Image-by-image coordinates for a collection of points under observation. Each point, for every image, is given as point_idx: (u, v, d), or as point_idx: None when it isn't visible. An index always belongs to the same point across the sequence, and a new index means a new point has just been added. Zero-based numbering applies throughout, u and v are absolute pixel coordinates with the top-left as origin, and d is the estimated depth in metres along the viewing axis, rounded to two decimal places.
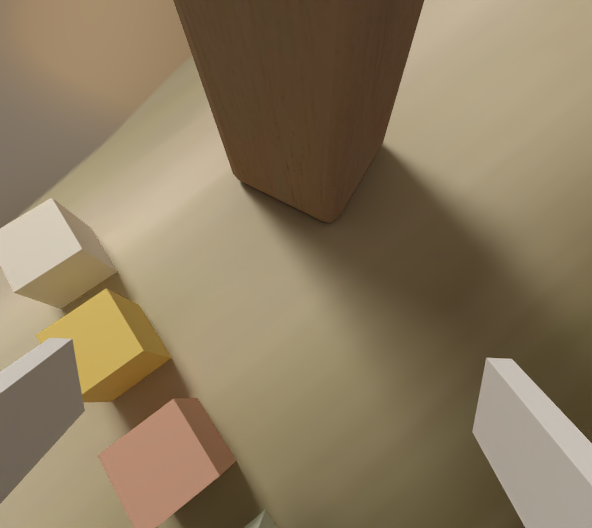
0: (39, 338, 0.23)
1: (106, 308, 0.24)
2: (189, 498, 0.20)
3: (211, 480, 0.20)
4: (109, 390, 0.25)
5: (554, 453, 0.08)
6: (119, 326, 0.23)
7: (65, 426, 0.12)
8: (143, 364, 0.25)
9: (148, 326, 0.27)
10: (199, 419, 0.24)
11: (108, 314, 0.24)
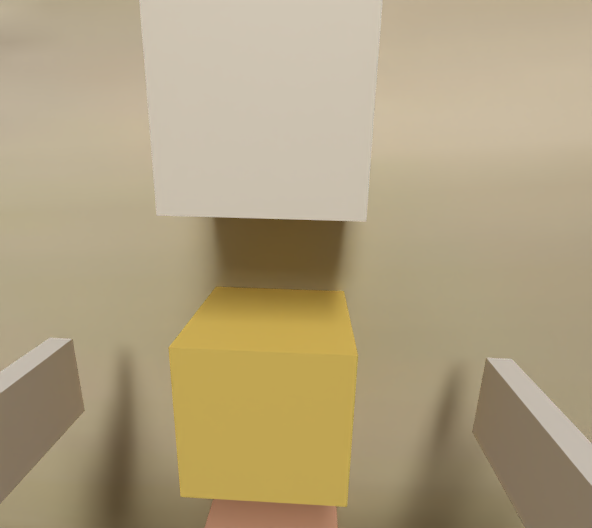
0: (173, 358, 0.10)
1: (332, 395, 0.10)
2: None
3: None
4: None
5: (554, 453, 0.08)
6: (333, 443, 0.10)
7: (65, 426, 0.12)
8: None
9: None
10: None
11: (328, 408, 0.10)
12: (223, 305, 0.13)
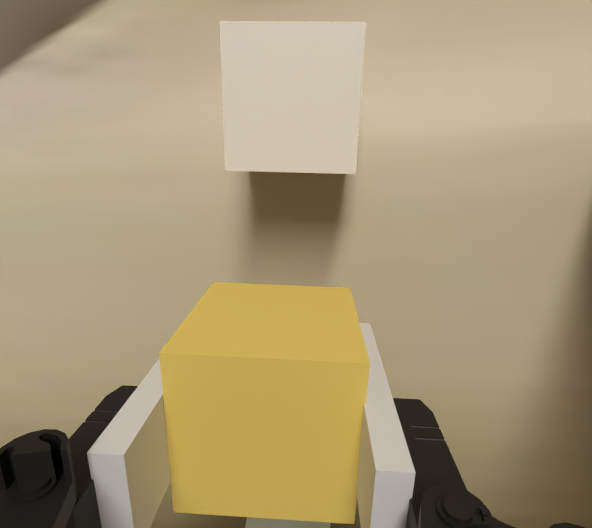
0: (164, 364, 0.09)
1: (340, 406, 0.09)
2: None
3: None
4: None
5: None
6: (341, 457, 0.10)
7: None
8: None
9: None
10: None
11: (335, 420, 0.09)
12: (220, 304, 0.12)
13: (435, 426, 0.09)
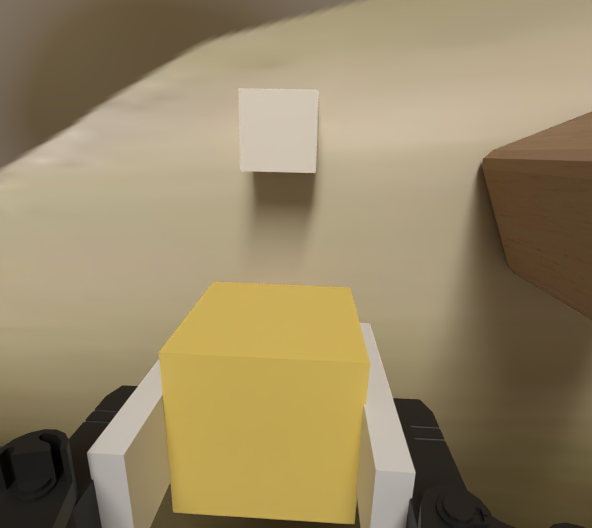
0: (163, 364, 0.09)
1: (340, 406, 0.09)
2: None
3: None
4: None
5: None
6: (341, 457, 0.09)
7: None
8: None
9: None
10: None
11: (335, 420, 0.09)
12: (220, 303, 0.12)
13: (435, 426, 0.09)
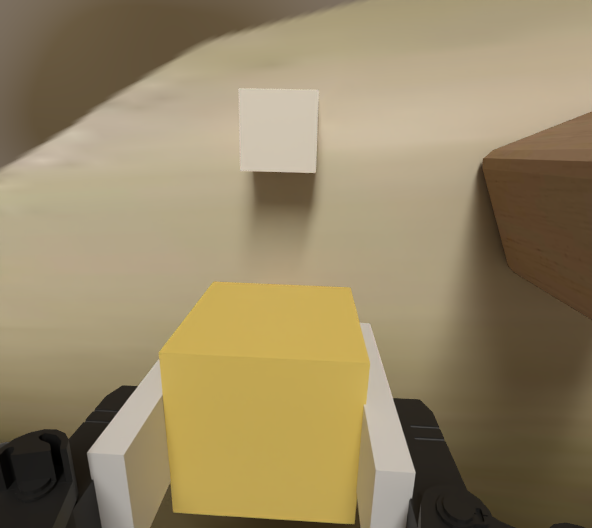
0: (163, 364, 0.09)
1: (340, 406, 0.09)
2: None
3: None
4: None
5: None
6: (341, 457, 0.09)
7: None
8: None
9: None
10: None
11: (335, 420, 0.09)
12: (220, 303, 0.12)
13: (435, 426, 0.09)
